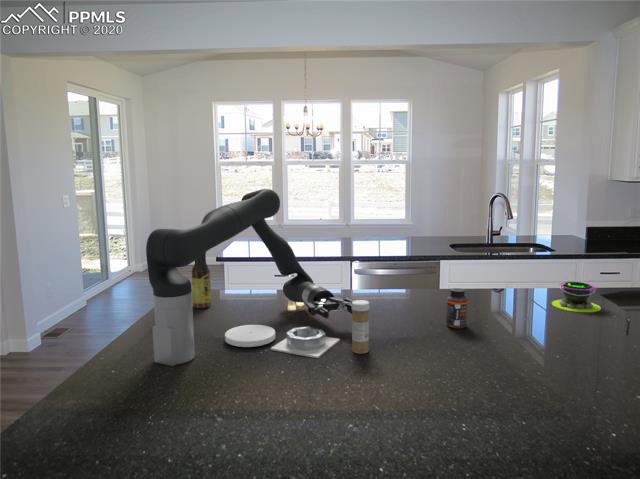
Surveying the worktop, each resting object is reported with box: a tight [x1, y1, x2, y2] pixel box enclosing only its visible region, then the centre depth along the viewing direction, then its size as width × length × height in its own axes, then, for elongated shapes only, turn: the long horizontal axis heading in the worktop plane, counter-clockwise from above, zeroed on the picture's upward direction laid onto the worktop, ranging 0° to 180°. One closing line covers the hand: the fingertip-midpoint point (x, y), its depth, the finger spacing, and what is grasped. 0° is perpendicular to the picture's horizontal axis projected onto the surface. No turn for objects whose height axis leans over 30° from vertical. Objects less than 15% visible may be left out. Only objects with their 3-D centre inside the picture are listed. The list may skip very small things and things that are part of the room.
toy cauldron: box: [551, 272, 602, 313], centre depth 169 cm, size 15×15×11 cm
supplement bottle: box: [445, 288, 468, 330], centre depth 149 cm, size 6×6×11 cm
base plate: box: [270, 336, 341, 359], centre depth 135 cm, size 14×14×1 cm
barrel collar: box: [286, 325, 327, 351], centre depth 135 cm, size 10×10×3 cm
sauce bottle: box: [191, 252, 212, 309], centre depth 171 cm, size 7×6×20 cm
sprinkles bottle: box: [351, 299, 370, 355], centre depth 130 cm, size 5×5×13 cm
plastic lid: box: [224, 324, 276, 348], centre depth 139 cm, size 14×14×2 cm
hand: (341, 312), depth 140 cm, fingers open, 8 cm apart
